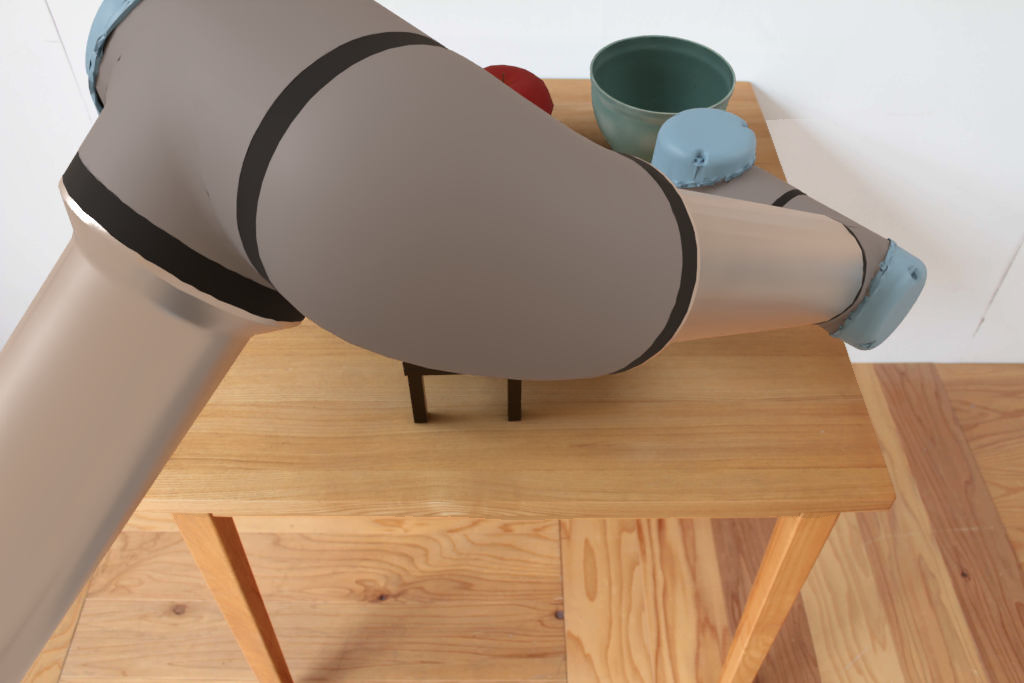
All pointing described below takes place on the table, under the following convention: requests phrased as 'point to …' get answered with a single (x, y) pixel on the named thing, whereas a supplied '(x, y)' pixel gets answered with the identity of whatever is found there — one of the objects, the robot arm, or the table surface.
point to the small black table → (417, 373)
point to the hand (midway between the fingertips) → (381, 173)
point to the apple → (524, 84)
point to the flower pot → (653, 87)
